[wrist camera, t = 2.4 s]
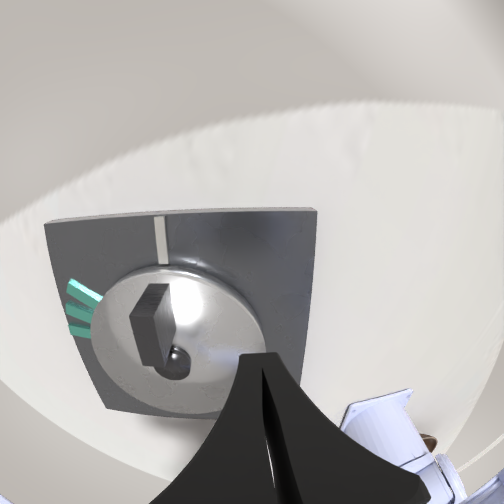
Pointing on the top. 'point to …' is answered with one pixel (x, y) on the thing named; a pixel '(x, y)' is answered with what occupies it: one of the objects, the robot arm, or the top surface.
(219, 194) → the top surface
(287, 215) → the panel
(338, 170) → the top surface
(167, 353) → the dial
